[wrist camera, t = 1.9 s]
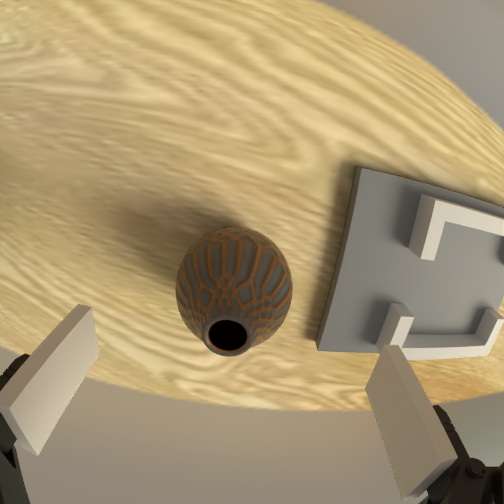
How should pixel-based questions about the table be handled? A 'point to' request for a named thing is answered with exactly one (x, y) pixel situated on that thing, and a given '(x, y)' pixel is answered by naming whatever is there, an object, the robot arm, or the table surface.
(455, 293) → the board
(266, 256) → the vase
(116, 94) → the table surface
